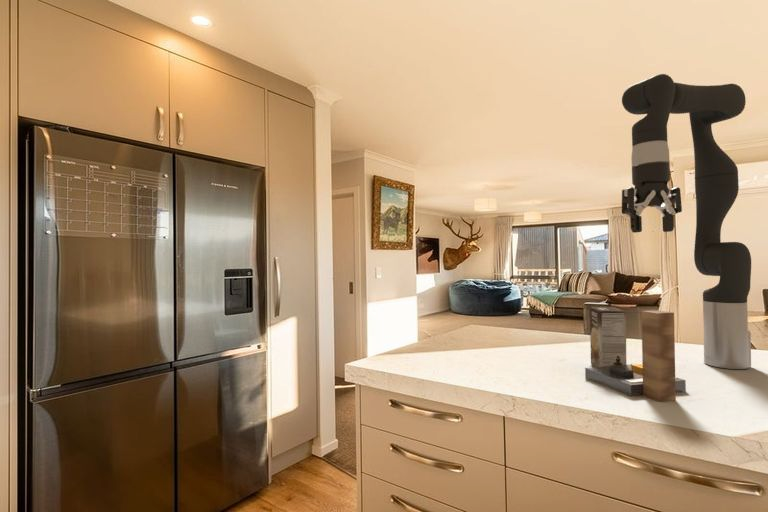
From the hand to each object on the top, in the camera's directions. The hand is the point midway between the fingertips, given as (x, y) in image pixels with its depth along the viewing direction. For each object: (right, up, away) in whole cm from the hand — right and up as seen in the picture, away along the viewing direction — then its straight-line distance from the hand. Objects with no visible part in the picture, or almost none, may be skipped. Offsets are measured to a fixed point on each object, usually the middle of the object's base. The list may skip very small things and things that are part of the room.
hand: (652, 232), depth 96 cm
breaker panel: (-6, -36, -2) cm, 37 cm away
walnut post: (-6, -35, -11) cm, 38 cm away
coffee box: (-5, -36, +11) cm, 38 cm away
